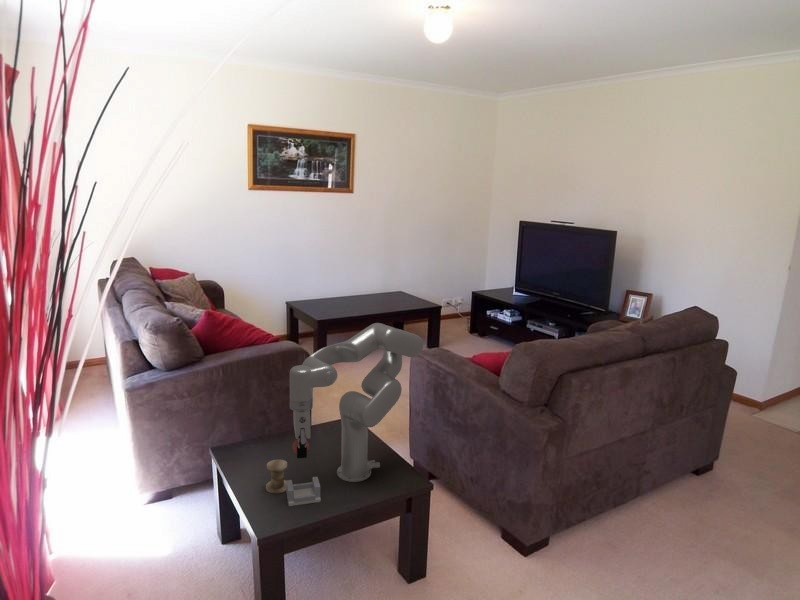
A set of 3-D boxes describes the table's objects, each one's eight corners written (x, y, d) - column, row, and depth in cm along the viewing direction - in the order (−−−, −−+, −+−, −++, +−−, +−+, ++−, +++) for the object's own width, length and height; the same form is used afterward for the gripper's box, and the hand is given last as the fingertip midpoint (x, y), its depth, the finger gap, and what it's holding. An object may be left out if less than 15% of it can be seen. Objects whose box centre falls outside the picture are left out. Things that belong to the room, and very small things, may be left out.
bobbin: (288, 479, 194) (287, 457, 193) (290, 491, 187) (289, 468, 185) (265, 482, 192) (264, 460, 190) (266, 495, 185) (265, 471, 183)
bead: (308, 449, 186) (308, 434, 185) (309, 457, 181) (309, 442, 179) (292, 450, 184) (292, 435, 183) (293, 458, 179) (293, 443, 178)
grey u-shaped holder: (317, 487, 190) (317, 475, 189) (320, 501, 182) (320, 488, 181) (286, 492, 187) (286, 478, 186) (288, 506, 179) (288, 492, 178)
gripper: (315, 412, 171) (315, 464, 175) (310, 392, 188) (309, 440, 191) (291, 414, 170) (291, 467, 173) (288, 393, 186) (288, 442, 190)
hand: (301, 452), depth 182 cm, fingers closed on bead, 5 cm apart
